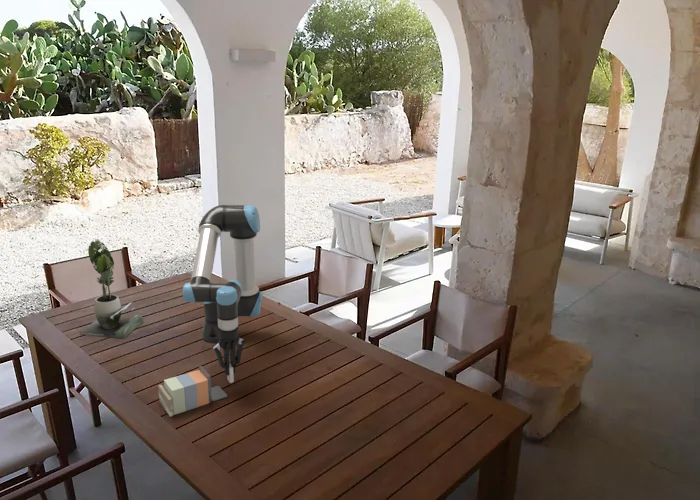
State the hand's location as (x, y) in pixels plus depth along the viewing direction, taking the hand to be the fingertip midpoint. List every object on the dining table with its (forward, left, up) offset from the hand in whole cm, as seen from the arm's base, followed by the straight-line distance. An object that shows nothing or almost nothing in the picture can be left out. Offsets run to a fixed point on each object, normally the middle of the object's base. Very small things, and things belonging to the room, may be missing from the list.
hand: (230, 380), depth 225 cm
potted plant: (+24, -82, -4) cm, 85 cm away
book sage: (+22, 0, -4) cm, 23 cm away
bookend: (+7, 0, -3) cm, 8 cm away
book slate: (+18, 0, -4) cm, 18 cm away
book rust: (+13, 0, -4) cm, 14 cm away
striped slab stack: (+17, -1, -4) cm, 18 cm away
